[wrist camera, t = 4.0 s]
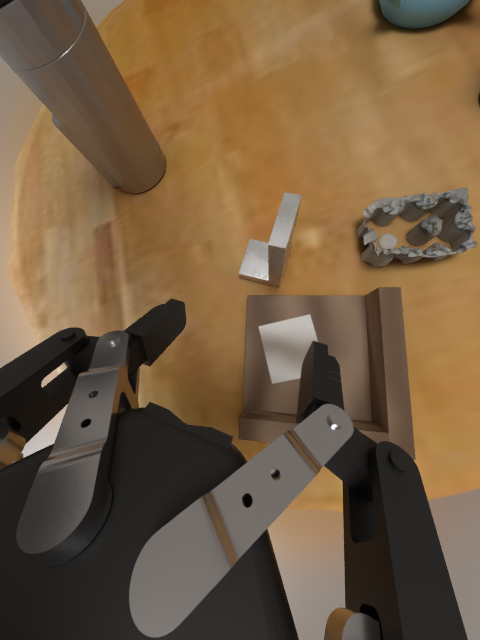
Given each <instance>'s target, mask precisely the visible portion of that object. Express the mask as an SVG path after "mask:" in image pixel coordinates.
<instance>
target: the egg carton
mask: <svg viewBox="0 0 480 640" xmlns="http://www.w3.org/2000/svg"><path fill="white" fill-rule="evenodd" d="M467 200H468V188H460V189H456V190H452V191H446V192H443V193H440V194H436V193H432V194H430V195H426V193H422V194H418V195H414V196H405V197H401V198H383V199H379V200H377V201H375V202H374V203H373V204H371V205H370V206H369V207H367V208H366V209H365V210H364V211H363V215H364V216H365V217H366V218H365V220H364V221H363V223H362V224H361V225H360V227H359V228H358V229H357V237H358V238H364V245H366V244H369V247H368V248H367V249H366V250H365V251H364V252H363V253H362V254H361V256H362V261H365V262H369V263H371V264H372V265H373V267H375V268H380V267H384V266H387V264H388V263H389V262H391V261H392V260H393V258H397V259H399V260H401V261H402V262H403V264H408V263H412V262H415V261H418V260H420V259H421V258H423V257H432V258H433V260H434V261H436V260H437V261H438V260H442V259H444V258H445V257H447V256H448V255H450V254H455V253H463V252H465V251H466V250H468V249H471V248H475V247H476V245H477V242H473V241H472V233H473V232H474V231H475V227H474V226H473V225H472V224H471V222H472V218H473V217H472V216H471V206H468V205H467ZM427 211H431V213H432V214H433V215H430V216H428V217H427V218H426V219H424V220H423V221H421V222H420V223H419V224H418V225H416V226H415V227H414V228H413V229H412V230H411V231H410V232H409V233H408V234H407V240H408V242H409V243H410V244H412V245H414V246H421V245H423V244H425V243H426V242H428V241H429V240H431V239H432V238H434V237H435V236H438V238H439V239H441V240H442V241H446V242H450V243H451V246H452V249H448V248H447V247H446V246H444V245H440V244H439V243H434V244H433V245H432V246H430V247H428V248H427V249H425V250H424V251H423V252H422V251H421V249H419V248H415V249H412V248H410V247H404V246H403V247H401V248H399V249H397V248H395V247H396V246H397V243H398V240H397V238H396V236H394V235H392V234H383V235H381V236H380V238H379V239H378V244H379V246H380V247H381V248H382V249H385V250H382V249H379V248H378V247H377V246H376V243H375V242H376V240H377V234H376V232H375V231H374V230H372V228H368V226H365V223H366V222H367V220H373V222H374V223H375V224H376V225H378V226H386V225H388V224H389V223H390V222H391V221H392V220H393V219H394V218H395V217H396V216H398V215H401V216H402V218H403V219H404V220H406V221H408V222H413V221H417V220H418V219H419V218H420V217H422V216H423V215H424V214H425V213H426V212H427ZM438 217H443V220H444V224H443V225H442V223H443V220H441V219H439V218H438Z"/></svg>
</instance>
